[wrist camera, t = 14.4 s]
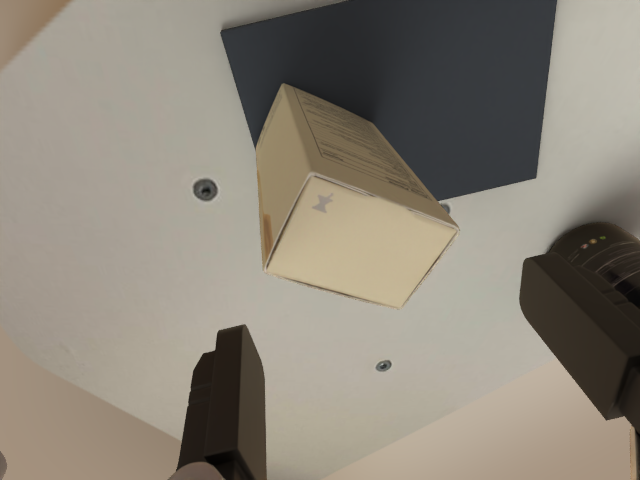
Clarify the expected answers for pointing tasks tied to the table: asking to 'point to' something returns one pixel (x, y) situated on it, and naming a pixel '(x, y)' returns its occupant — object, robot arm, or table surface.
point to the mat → (415, 79)
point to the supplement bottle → (605, 255)
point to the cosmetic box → (343, 205)
